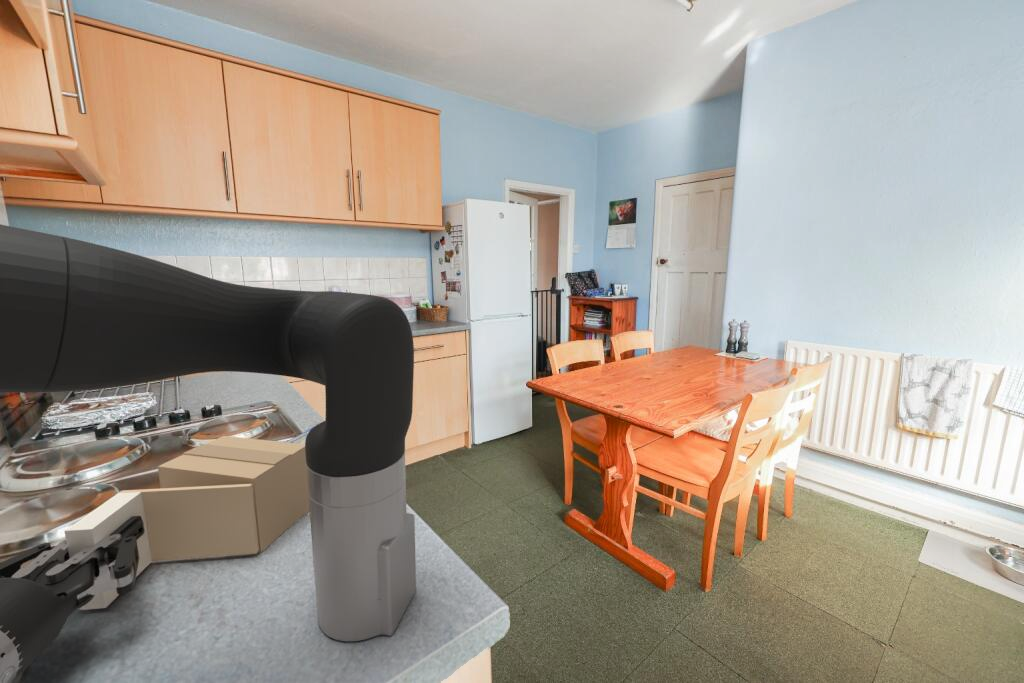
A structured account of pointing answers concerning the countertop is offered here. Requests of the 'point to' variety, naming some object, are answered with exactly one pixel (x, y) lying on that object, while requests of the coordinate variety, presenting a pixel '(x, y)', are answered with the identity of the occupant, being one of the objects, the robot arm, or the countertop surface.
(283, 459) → the kraft carton
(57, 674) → the countertop surface
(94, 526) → the carton flap
